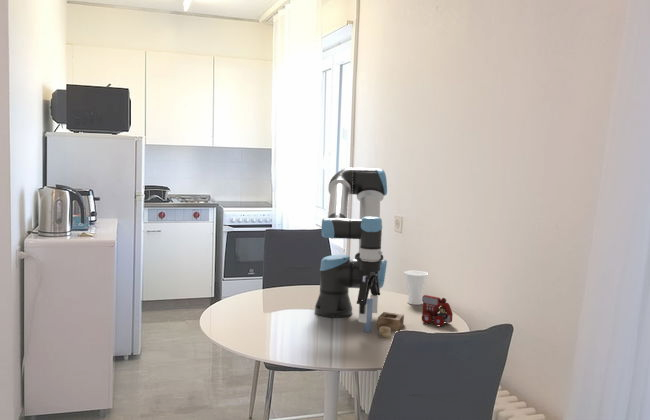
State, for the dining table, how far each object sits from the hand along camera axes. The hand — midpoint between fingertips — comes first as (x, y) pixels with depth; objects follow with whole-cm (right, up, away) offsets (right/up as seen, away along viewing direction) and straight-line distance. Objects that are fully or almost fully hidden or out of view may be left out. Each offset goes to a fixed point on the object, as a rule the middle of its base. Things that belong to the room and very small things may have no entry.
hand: (368, 317), depth 207 cm
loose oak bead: (+6, -6, -4) cm, 9 cm away
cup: (+24, -2, +43) cm, 49 cm away
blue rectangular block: (0, -5, +1) cm, 5 cm away
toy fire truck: (+27, -5, +14) cm, 31 cm away
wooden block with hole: (+9, -5, +8) cm, 13 cm away
